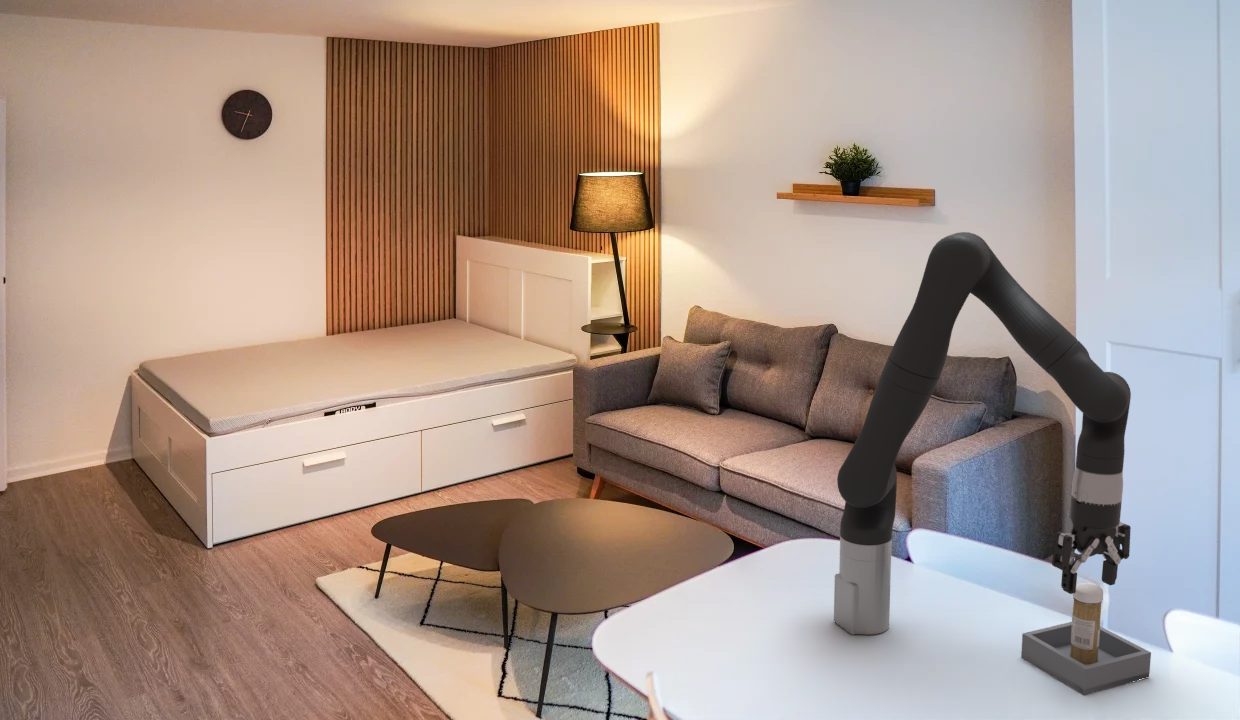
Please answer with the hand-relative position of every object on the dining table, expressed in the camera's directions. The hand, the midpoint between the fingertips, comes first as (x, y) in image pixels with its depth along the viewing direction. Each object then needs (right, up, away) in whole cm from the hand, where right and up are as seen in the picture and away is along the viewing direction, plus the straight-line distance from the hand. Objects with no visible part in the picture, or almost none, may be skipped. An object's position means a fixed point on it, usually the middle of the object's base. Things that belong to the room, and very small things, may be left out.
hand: (1088, 587), depth 175 cm
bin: (0, -14, +3) cm, 14 cm away
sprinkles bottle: (0, -13, +3) cm, 14 cm away
